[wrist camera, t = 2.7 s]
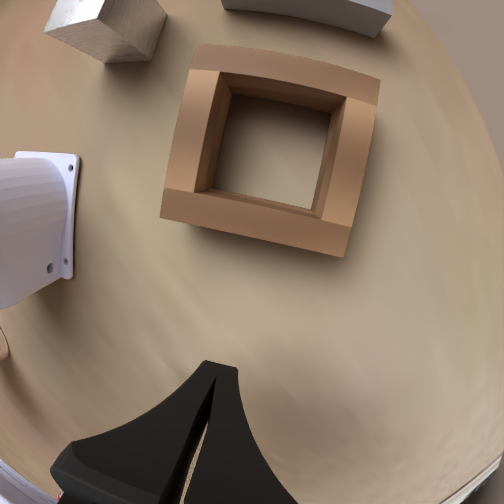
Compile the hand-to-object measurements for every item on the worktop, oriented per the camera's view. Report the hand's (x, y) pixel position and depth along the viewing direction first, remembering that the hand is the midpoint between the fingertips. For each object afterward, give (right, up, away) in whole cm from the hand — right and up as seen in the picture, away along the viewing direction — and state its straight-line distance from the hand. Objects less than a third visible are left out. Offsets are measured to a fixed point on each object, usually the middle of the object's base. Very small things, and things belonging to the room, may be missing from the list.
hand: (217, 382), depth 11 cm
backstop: (+5, +21, +3) cm, 21 cm away
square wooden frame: (+3, +11, +5) cm, 13 cm away
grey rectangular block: (-7, +20, +4) cm, 22 cm away
